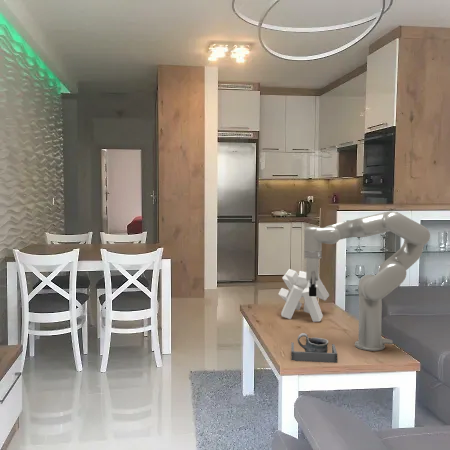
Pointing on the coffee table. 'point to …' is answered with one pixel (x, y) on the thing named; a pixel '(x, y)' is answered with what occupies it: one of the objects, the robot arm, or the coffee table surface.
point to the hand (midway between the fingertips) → (312, 295)
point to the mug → (314, 344)
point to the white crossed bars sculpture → (301, 295)
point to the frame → (314, 355)
